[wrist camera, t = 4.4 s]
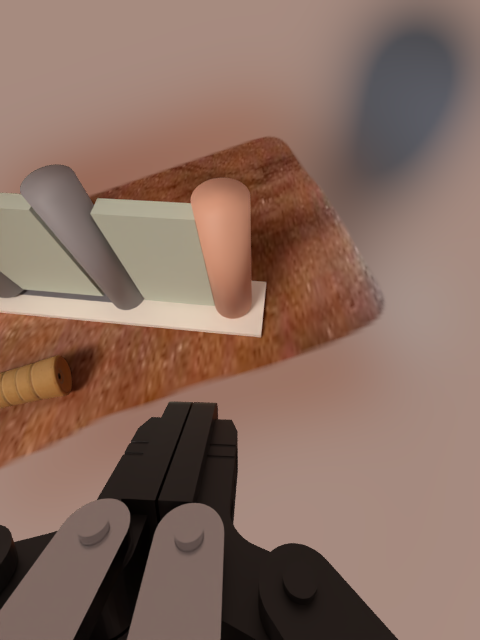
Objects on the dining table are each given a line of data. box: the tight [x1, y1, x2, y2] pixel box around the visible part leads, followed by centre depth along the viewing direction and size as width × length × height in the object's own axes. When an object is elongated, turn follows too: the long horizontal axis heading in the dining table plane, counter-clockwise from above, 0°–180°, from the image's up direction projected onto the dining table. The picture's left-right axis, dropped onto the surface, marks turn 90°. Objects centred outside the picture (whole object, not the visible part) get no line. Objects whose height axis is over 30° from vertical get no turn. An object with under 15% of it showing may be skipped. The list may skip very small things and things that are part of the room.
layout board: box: [0, 281, 266, 337], centre depth 27 cm, size 24×14×1 cm, turn 83°
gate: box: [90, 178, 252, 319], centre depth 20 cm, size 9×3×10 cm, turn 83°
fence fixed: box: [0, 165, 144, 310], centre depth 21 cm, size 13×3×11 cm, turn 83°
